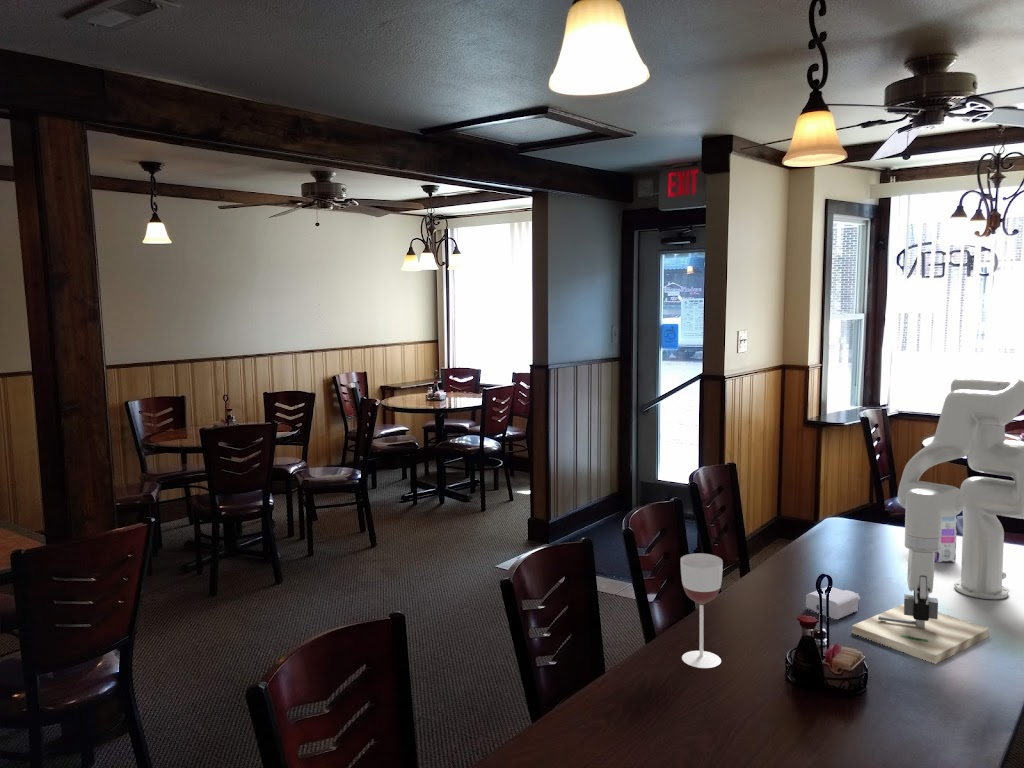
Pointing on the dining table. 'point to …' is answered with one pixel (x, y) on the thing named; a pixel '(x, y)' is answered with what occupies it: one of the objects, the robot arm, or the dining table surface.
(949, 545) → the candy box
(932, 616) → the key
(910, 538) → the robot arm
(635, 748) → the dining table surface
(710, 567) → the wineglass
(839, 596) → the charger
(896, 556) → the dining table surface
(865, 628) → the wooden cutting board
